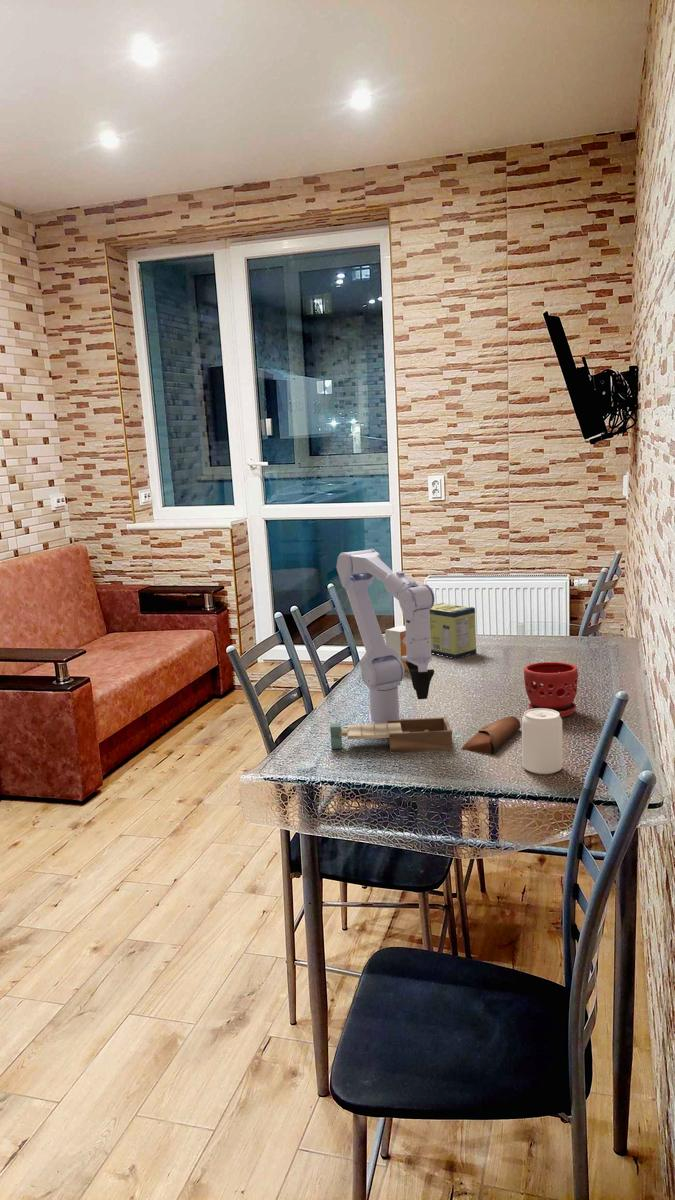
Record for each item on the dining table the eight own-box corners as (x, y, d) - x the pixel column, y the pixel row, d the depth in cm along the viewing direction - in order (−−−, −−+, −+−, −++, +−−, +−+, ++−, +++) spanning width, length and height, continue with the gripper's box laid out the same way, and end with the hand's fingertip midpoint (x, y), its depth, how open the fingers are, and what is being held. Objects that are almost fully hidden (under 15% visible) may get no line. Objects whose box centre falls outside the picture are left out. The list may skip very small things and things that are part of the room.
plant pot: (584, 708, 204) (584, 663, 202) (567, 723, 194) (567, 675, 192) (535, 702, 212) (535, 658, 210) (516, 716, 201) (515, 670, 199)
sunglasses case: (486, 725, 195) (499, 704, 193) (511, 742, 193) (524, 721, 190) (459, 750, 180) (473, 727, 177) (485, 769, 178) (499, 746, 175)
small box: (401, 673, 246) (400, 632, 244) (386, 670, 251) (384, 629, 249) (418, 667, 252) (417, 627, 250) (403, 664, 256) (401, 624, 254)
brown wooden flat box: (387, 737, 190) (387, 719, 190) (446, 734, 190) (446, 717, 190) (390, 752, 181) (389, 734, 180) (452, 750, 180) (451, 731, 180)
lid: (331, 740, 189) (330, 719, 189) (400, 737, 189) (399, 716, 188) (331, 752, 182) (330, 730, 181) (403, 749, 182) (402, 727, 181)
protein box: (442, 646, 278) (441, 602, 275) (477, 653, 266) (476, 607, 264) (421, 652, 272) (419, 607, 269) (455, 659, 260) (454, 612, 257)
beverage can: (544, 779, 162) (544, 722, 160) (514, 768, 168) (513, 713, 166) (570, 768, 166) (570, 713, 164) (539, 758, 173) (539, 705, 171)
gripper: (398, 632, 193) (400, 686, 196) (404, 645, 179) (406, 704, 181) (427, 630, 193) (429, 684, 196) (435, 643, 179) (437, 702, 181)
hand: (420, 694), depth 188 cm, fingers open, 7 cm apart
